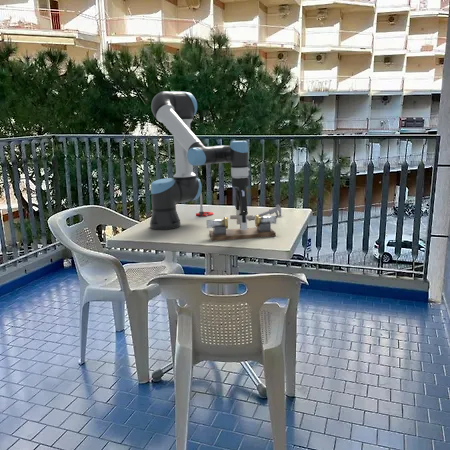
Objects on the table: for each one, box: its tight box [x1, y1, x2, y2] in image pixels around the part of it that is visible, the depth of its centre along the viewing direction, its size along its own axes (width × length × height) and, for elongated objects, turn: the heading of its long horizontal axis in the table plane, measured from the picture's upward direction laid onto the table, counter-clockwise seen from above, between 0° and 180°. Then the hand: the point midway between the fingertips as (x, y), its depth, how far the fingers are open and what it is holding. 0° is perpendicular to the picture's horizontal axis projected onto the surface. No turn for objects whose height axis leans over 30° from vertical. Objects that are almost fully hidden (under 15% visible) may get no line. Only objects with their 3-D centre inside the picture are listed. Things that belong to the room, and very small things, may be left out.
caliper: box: [247, 204, 282, 221], centre depth 222 cm, size 20×1×6 cm, turn 117°
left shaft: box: [206, 216, 229, 235], centre depth 187 cm, size 9×6×7 cm, turn 98°
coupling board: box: [208, 226, 277, 242], centre depth 190 cm, size 28×12×2 cm, turn 98°
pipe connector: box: [229, 206, 254, 229], centre depth 188 cm, size 10×10×10 cm
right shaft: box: [254, 214, 277, 232], centre depth 190 cm, size 9×6×7 cm, turn 98°
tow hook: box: [195, 192, 214, 217], centre depth 234 cm, size 8×13×9 cm
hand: (241, 226), depth 189 cm, fingers closed on pipe connector, 10 cm apart
